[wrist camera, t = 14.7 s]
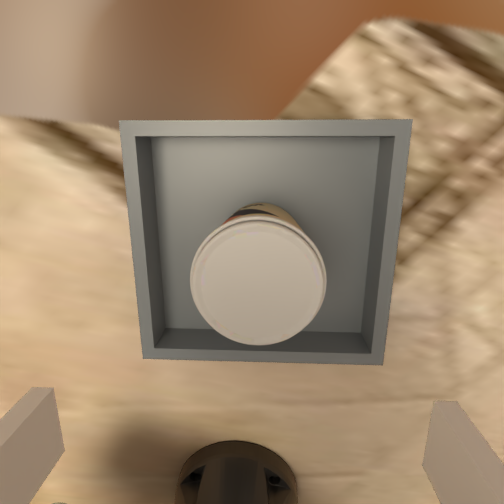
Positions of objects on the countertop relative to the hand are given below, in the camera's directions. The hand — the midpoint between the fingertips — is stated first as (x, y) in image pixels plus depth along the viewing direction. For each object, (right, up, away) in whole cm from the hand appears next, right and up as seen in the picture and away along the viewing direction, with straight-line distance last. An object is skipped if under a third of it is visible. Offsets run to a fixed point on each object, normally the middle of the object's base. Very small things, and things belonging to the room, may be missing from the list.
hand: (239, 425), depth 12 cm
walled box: (+2, +7, +24) cm, 25 cm away
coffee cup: (+1, +7, +23) cm, 24 cm away
